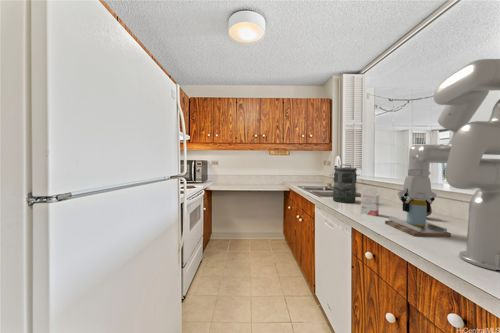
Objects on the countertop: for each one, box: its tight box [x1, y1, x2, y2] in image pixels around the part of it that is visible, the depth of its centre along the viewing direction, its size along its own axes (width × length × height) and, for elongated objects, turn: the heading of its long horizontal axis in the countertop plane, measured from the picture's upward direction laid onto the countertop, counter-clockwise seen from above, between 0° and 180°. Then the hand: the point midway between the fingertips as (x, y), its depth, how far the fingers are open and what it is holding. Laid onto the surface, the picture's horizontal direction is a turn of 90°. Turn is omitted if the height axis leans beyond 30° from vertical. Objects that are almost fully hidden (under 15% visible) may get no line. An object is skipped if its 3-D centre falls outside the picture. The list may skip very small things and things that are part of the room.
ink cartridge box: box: [360, 188, 380, 217], centre depth 130 cm, size 9×5×15 cm, turn 42°
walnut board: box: [384, 220, 452, 238], centre depth 101 cm, size 18×16×2 cm
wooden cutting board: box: [388, 216, 448, 233], centre depth 101 cm, size 18×12×2 cm
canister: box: [332, 164, 358, 204], centre depth 170 cm, size 16×16×28 cm
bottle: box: [406, 193, 427, 228], centre depth 101 cm, size 7×7×15 cm
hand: (416, 211), depth 101 cm, fingers open, 9 cm apart
